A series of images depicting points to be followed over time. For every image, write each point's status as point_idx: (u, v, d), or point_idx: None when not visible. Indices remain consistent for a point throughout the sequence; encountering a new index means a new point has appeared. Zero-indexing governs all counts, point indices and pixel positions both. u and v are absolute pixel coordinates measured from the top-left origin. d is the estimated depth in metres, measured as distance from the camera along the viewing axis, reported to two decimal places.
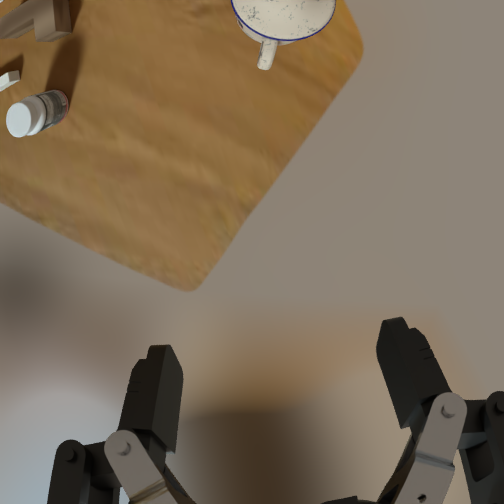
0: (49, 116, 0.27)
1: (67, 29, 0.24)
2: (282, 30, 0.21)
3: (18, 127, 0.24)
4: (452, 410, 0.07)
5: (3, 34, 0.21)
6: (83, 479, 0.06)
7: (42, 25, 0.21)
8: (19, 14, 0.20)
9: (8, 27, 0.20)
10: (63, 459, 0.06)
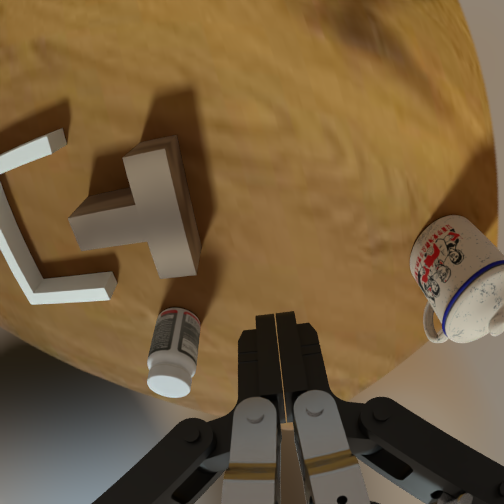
0: None
1: (199, 249, 0.26)
2: (469, 340, 0.22)
3: (169, 391, 0.26)
4: (316, 408, 0.08)
5: (88, 247, 0.22)
6: (191, 466, 0.07)
7: (169, 259, 0.23)
8: (114, 226, 0.21)
9: (95, 240, 0.22)
10: (181, 436, 0.07)
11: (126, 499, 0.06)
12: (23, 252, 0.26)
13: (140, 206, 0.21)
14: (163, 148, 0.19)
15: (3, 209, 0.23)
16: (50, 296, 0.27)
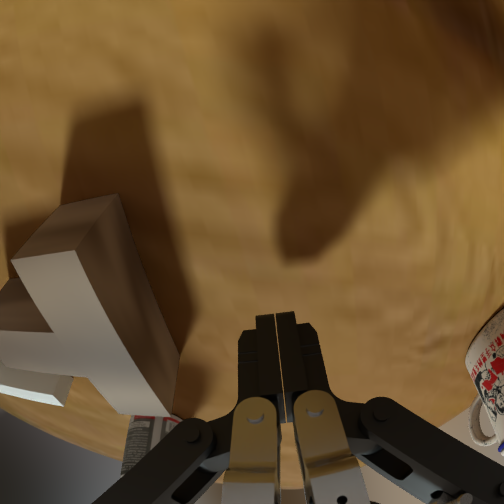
0: None
1: (175, 366, 0.16)
2: None
3: None
4: (316, 409, 0.08)
5: (13, 366, 0.12)
6: (191, 466, 0.07)
7: (126, 399, 0.13)
8: (34, 352, 0.11)
9: (18, 361, 0.11)
10: (181, 436, 0.07)
11: (126, 499, 0.06)
12: None
13: (61, 335, 0.10)
14: (73, 247, 0.08)
15: None
16: None
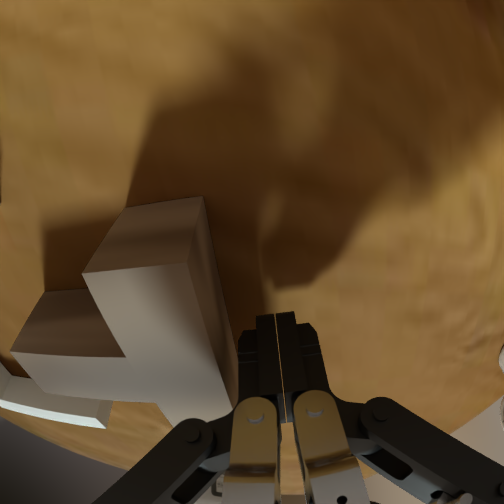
0: None
1: None
2: None
3: None
4: (316, 409, 0.08)
5: (55, 392, 0.11)
6: (191, 466, 0.07)
7: None
8: (91, 378, 0.10)
9: (63, 387, 0.11)
10: (181, 436, 0.07)
11: (126, 499, 0.06)
12: None
13: (136, 360, 0.09)
14: (182, 259, 0.08)
15: None
16: (23, 408, 0.16)
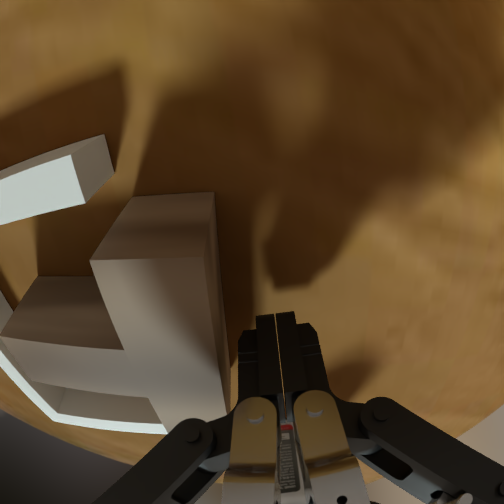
0: None
1: (229, 381, 0.15)
2: None
3: None
4: (316, 409, 0.08)
5: (43, 381, 0.11)
6: (191, 466, 0.07)
7: None
8: (83, 369, 0.10)
9: (52, 376, 0.10)
10: (181, 436, 0.07)
11: (126, 499, 0.06)
12: None
13: (134, 354, 0.09)
14: (198, 253, 0.07)
15: None
16: (87, 421, 0.16)
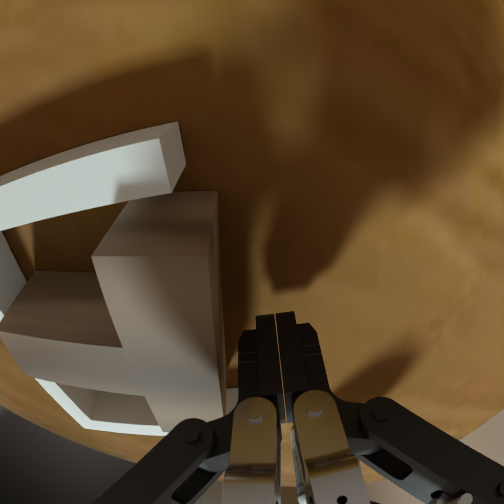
0: None
1: None
2: None
3: None
4: (316, 409, 0.08)
5: (38, 376, 0.10)
6: (191, 466, 0.07)
7: (182, 418, 0.12)
8: (80, 366, 0.10)
9: (48, 372, 0.10)
10: (181, 436, 0.07)
11: (126, 499, 0.06)
12: None
13: (132, 351, 0.09)
14: (202, 252, 0.07)
15: (15, 291, 0.11)
16: (125, 427, 0.16)
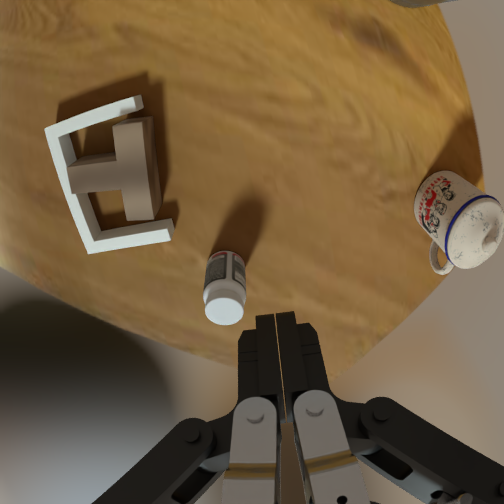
0: None
1: (159, 204, 0.33)
2: (469, 265, 0.29)
3: (224, 317, 0.32)
4: (316, 409, 0.08)
5: (77, 191, 0.29)
6: (191, 466, 0.07)
7: (135, 205, 0.30)
8: (99, 176, 0.28)
9: (84, 186, 0.28)
10: (181, 436, 0.07)
11: (126, 499, 0.06)
12: (87, 204, 0.33)
13: (119, 162, 0.27)
14: (141, 122, 0.26)
15: None
16: (111, 242, 0.34)
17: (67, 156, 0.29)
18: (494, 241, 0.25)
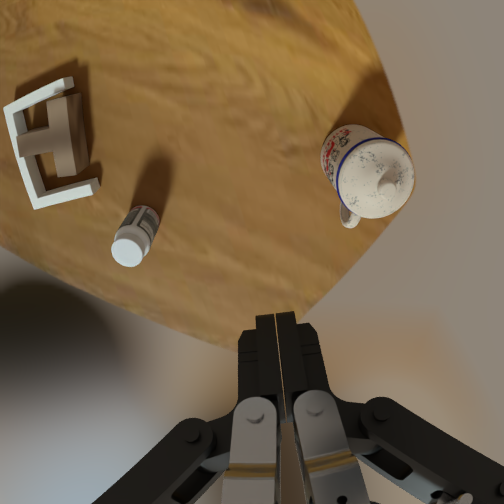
0: (151, 242, 0.38)
1: (85, 164, 0.35)
2: (372, 214, 0.32)
3: (127, 258, 0.35)
4: (316, 409, 0.08)
5: (23, 155, 0.31)
6: (191, 466, 0.07)
7: (62, 163, 0.32)
8: (38, 141, 0.30)
9: (27, 150, 0.31)
10: (181, 436, 0.07)
11: (126, 499, 0.06)
12: (34, 167, 0.35)
13: (51, 129, 0.30)
14: (65, 96, 0.28)
15: None
16: (50, 198, 0.36)
17: (19, 128, 0.31)
18: (390, 183, 0.27)
